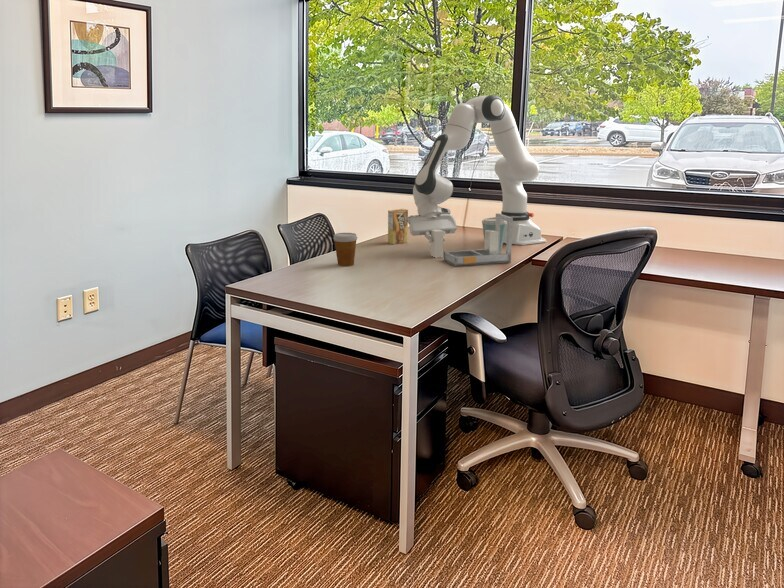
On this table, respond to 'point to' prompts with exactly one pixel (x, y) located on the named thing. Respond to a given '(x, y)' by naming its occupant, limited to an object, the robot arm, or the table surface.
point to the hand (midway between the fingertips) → (437, 241)
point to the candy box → (397, 226)
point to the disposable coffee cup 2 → (490, 225)
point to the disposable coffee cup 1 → (345, 248)
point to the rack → (485, 248)
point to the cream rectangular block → (437, 243)
